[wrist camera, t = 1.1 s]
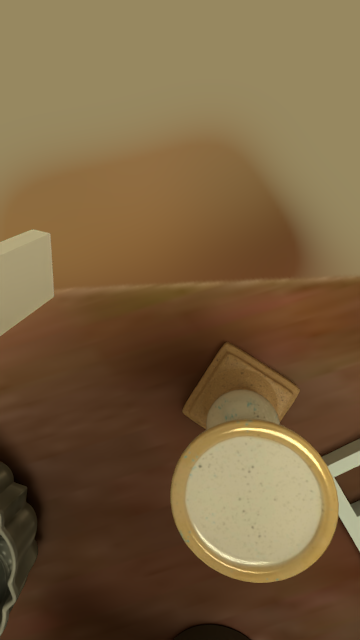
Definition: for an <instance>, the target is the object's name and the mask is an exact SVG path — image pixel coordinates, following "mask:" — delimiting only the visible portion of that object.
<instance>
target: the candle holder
mask: <svg viewBox="0 0 360 640" xmlns="http://www.w3.org/2000/svg"><path fill="white" fill-rule="evenodd" d="M299 391H300V390H299V388H298V387H297V386H296V385H295V384H294V383H293V382H291V381H290V380H288V379H287V378H285V377H284V376H282V375H281V374H279V373H278V372H276V371H274V370H273V369H271V368H270V367H268V366H267V365H265V364H263V363H262V362H260V361H259V360H257V359H255V358H254V357H252V356H251V355H249V354H248V353H246V352H244V351H243V350H241V349H240V348H238V347H236V346H234V345H233V344H231V343H229V342H226V343H224V344H223V346H222V347H221V349H220V350H219V351H218V353H217V354H216V356H215V358H214V359H213V361H212V362H211V364H210V365H209V367H208V368H207V370H206V372H205V373H204V375H203V376H202V378H201V379H200V381H199V382H198V384H197V386H196V387H195V389H194V390H193V392H192V393H191V395H190V396H189V398H188V400H187V402H186V403H185V405H184V408H183V411H182V412H183V413H184V414H185V415H186V416H187V417H189V418H190V419H191V420H192V421H194V422H195V423H197V424H198V425H200V426H201V427H203V428H204V429H206V431H204V432H203V433H201V434H200V435H198V436H197V437H196V438H195V439H194V440H193V441H192V442H191V443H190V444H189V445H188V446H187V448H186V449H185V450H184V452H183V453H182V455H181V457H180V459H179V460H178V462H177V464H176V467H175V470H174V473H173V477H172V482H171V489H170V502H171V509H172V515H173V518H174V521H175V524H176V527H177V529H178V531H179V533H180V535H181V537H182V539H183V540H184V541H185V543H186V544H187V546H188V547H189V549H190V550H191V551H192V552H193V553H194V554H195V555H196V556H197V557H198V558H199V559H200V560H201V561H203V562H204V563H205V564H206V565H207V566H209V567H211V568H212V569H214V570H216V571H217V572H219V573H221V574H224V575H226V576H228V577H230V578H234V579H238V580H241V581H246V582H255V583H266V582H275V581H280V580H284V579H287V578H290V577H293V576H295V575H297V574H299V573H301V572H302V571H304V570H306V569H307V568H309V567H310V566H311V565H312V564H314V563H315V562H316V561H317V560H318V559H319V558H320V557H321V555H322V554H323V553H324V552H325V550H326V549H327V547H328V545H329V544H330V542H331V540H332V538H333V535H334V533H335V530H336V526H337V521H338V512H339V502H338V495H337V489H336V486H335V483H334V480H333V477H332V474H331V472H330V470H329V468H328V466H327V464H326V463H325V461H324V460H323V459H322V457H321V456H320V454H319V453H318V452H317V451H316V450H315V448H314V447H313V446H312V445H311V444H310V443H309V442H308V441H306V440H305V439H304V438H302V437H301V436H300V435H299V434H297V433H296V432H294V431H292V430H290V429H288V428H286V427H284V426H282V425H280V421H281V420H282V418H283V417H284V415H285V414H286V412H287V411H288V410H289V408H290V407H291V405H292V404H293V402H294V401H295V399H296V397H297V395H298V394H299Z"/></svg>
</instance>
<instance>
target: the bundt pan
mask: <svg viewBox="0 0 360 640" xmlns="http://www.w3.org/2000/svg"><path fill="white" fill-rule="evenodd" d="M26 497H27V487H26V486H24V485H21V484H18V483H15V482H14V477H13V474H12V472H11V470H10V468H9V467H8V466H7V465H6V464H4V463H2V462H0V636H1V634H2V633H3V631H4V629H5V627H6V625H7V622H8V617H9V613H10V611H11V609H12V608H13V606H14V604H15V602H16V600H17V599H18V596H19V594H20V592H21V591H22V589H23V587H24V585H25V582H26V579H27V576H28V573H29V571H30V570H31V568H32V566H33V564H34V562H35V560H36V558H37V555H38V546H37V542H36V540H35V539H34V538H35V535H36V531H37V517H36V513H35V511H34V509H33V508H32V507H31V506H30V505H29V504H28V503H27V502H26Z"/></svg>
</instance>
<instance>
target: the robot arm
mask: <svg viewBox="0 0 360 640" xmlns="http://www.w3.org/2000/svg"><path fill="white" fill-rule="evenodd" d="M53 297H54V285H53V270H52V253H51V237H50V233H46V232H42V231H38V230H33V229H32V230H30V231H27V232H25V233H22V234H19V235H17V236H14V237H12V238H9V239H7V240H4V241H2V242H0V336H1V335H2V334H4V333H5V332H6V331H8V330H9V329H11V328H12V327H13V326H15V325H16V324H17V323H19V322H20V321H21V320H23V319H24V318H26V317H27V316H28V315H30V314H31V313H32V312H34V311H35V310H36V309H38V308H39V307H41V306H42V305H43V304H45V303H46V302H47V301H49V300H50V299H52V298H53ZM174 640H249V639H248V638H247V637H245V636H244V635H242V634H241V633H239V632H237V631H235V630H233V629H230V628H227V627H223V626H218V625H200V626H196V627H192V628H190V629H187V630H185V631H184V632H182V633H180V634H179V635H178V636H177V637H176V638H175V639H174Z"/></svg>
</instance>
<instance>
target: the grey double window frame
mask: <svg viewBox="0 0 360 640" xmlns="http://www.w3.org/2000/svg"><path fill="white" fill-rule="evenodd" d="M322 459H323V460H324V461H325V463H326V464H327V466H328V468H329V470H330V472H331V474H332V477H333V480H334V483H335V486H336V489H337V495H338V502H339V512H338V515H339V517H340V519H341V520H342V522H343V524H344V525H345V527H346V529H347V530H348V532H349V534H350V536H351V537H352V539H353V541H354V542H355V544H356V546H357V548H358V549H359V551H360V500H359V501H357V502H355V503H353V504H349V502H348V500H347V499H346V497H345V495H344V494H343V492H342V490H341V489H340V487H339V485H338V483H337V482H336V480H335V478H334V477H335V476H337V475H340V474H342V473H344V472H346V471H348V470H350V469H352V468H354V467H357V466H359V465H360V439H358V440H356V441H353V442H351V443H349V444H347V445H345V446H343V447H341V448H339V449H337V450H335V451H333V452H331V453H329V454H327V455H325V456H323V457H322Z"/></svg>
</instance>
